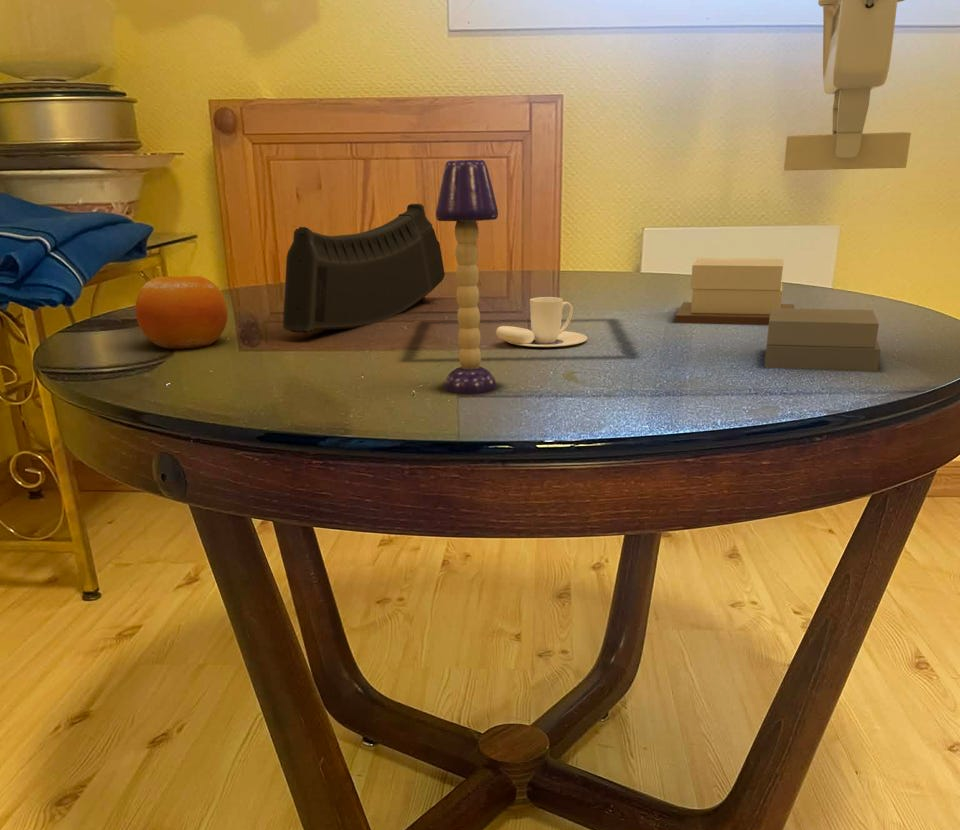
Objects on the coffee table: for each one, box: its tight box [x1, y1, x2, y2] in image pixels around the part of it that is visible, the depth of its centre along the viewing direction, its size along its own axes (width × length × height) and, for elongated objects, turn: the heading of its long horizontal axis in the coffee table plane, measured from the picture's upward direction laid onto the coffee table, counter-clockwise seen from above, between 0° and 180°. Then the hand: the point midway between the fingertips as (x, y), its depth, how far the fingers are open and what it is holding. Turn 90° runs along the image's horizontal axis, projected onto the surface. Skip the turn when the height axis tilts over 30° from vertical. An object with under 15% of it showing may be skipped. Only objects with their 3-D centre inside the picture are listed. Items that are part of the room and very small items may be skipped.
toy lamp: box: [435, 159, 499, 395], centre depth 77 cm, size 5×5×17 cm
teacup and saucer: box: [495, 296, 588, 348], centre depth 97 cm, size 9×8×4 cm
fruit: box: [134, 275, 228, 350], centre depth 99 cm, size 8×8×8 cm
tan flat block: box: [783, 131, 912, 172], centre depth 80 cm, size 9×6×2 cm, turn 75°
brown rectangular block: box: [764, 307, 881, 372], centre depth 86 cm, size 9×7×4 cm
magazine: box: [282, 203, 446, 334], centre depth 109 cm, size 17×3×30 cm
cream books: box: [674, 257, 795, 326], centre depth 107 cm, size 12×9×6 cm
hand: (843, 157), depth 81 cm, fingers closed on tan flat block, 6 cm apart
